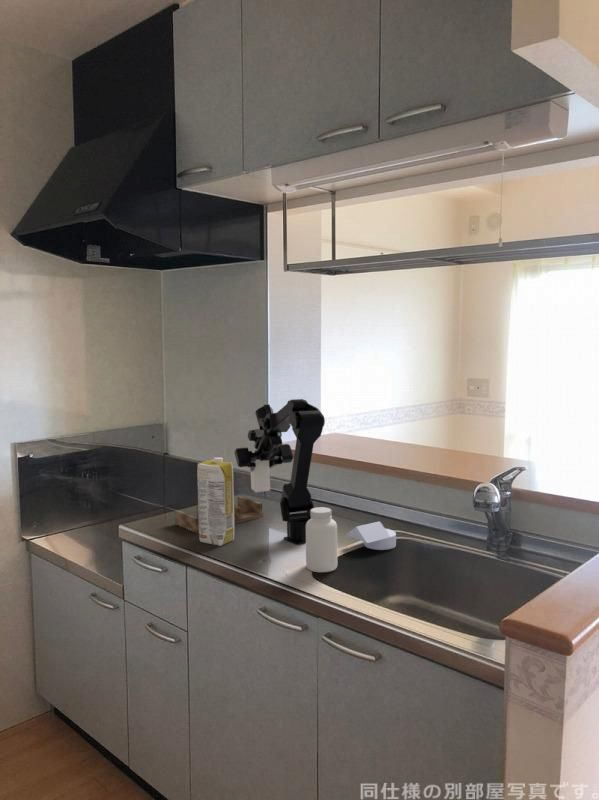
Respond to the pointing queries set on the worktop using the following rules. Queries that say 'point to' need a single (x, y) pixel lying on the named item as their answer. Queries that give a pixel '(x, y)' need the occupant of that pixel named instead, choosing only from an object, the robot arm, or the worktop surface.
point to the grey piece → (260, 476)
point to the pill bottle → (321, 541)
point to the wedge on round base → (374, 536)
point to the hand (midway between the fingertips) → (258, 469)
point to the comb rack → (241, 513)
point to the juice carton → (215, 501)
